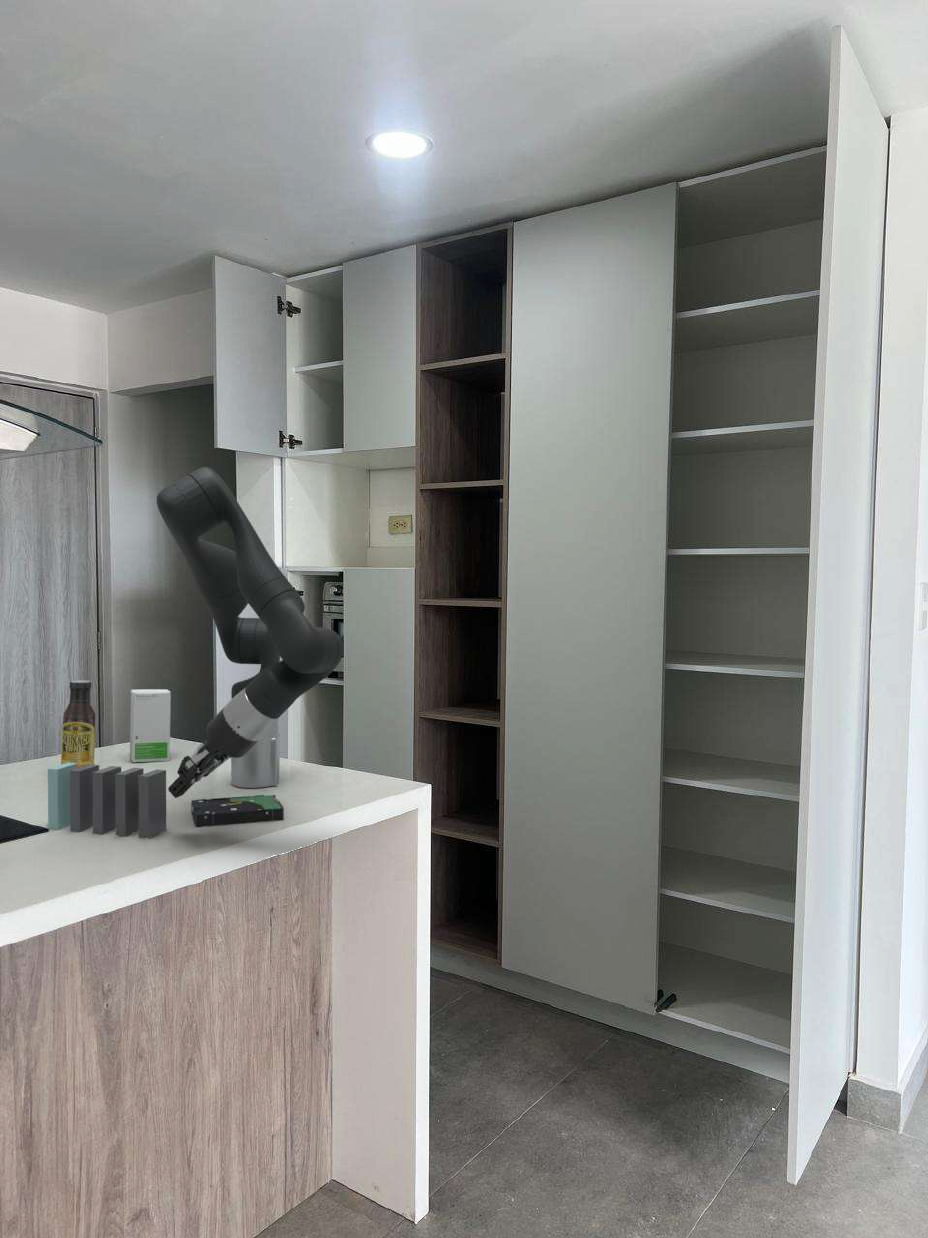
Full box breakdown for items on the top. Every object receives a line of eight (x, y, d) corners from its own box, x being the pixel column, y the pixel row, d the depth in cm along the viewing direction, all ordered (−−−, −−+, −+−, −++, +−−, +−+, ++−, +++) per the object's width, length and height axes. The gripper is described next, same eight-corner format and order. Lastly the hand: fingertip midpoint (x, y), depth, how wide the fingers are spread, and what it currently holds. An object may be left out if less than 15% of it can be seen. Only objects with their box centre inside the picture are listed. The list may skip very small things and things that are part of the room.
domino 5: (166, 830, 150) (166, 770, 149) (148, 839, 145) (148, 776, 144) (156, 829, 150) (156, 769, 150) (138, 838, 145) (138, 776, 145)
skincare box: (131, 763, 200) (131, 693, 199) (129, 757, 206) (128, 689, 205) (171, 760, 203) (171, 691, 202) (167, 755, 209) (167, 687, 208)
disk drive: (195, 831, 152) (285, 822, 157) (195, 815, 151) (284, 806, 157) (190, 815, 161) (274, 807, 167) (190, 799, 161) (274, 792, 167)
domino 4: (143, 828, 151) (143, 768, 150) (125, 836, 146) (125, 774, 145) (134, 827, 151) (133, 767, 151) (115, 835, 146) (115, 774, 146)
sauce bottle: (57, 782, 182) (56, 682, 181) (65, 774, 188) (64, 679, 187) (91, 781, 183) (91, 682, 182) (98, 774, 189) (98, 678, 188)
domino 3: (121, 826, 152) (121, 766, 151) (102, 834, 147) (102, 773, 146) (112, 825, 152) (111, 766, 152) (92, 833, 147) (92, 772, 147)
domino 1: (77, 821, 154) (77, 763, 153) (57, 830, 149) (57, 769, 149) (68, 821, 154) (68, 762, 154) (48, 829, 150) (47, 768, 149)
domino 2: (99, 824, 153) (99, 765, 152) (80, 832, 148) (79, 771, 147) (90, 823, 153) (89, 764, 153) (70, 831, 148) (69, 770, 148)
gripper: (238, 747, 136) (165, 821, 139) (277, 732, 149) (209, 800, 152) (206, 709, 137) (134, 784, 140) (248, 698, 150) (181, 767, 153)
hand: (174, 792), depth 146 cm, fingers closed
